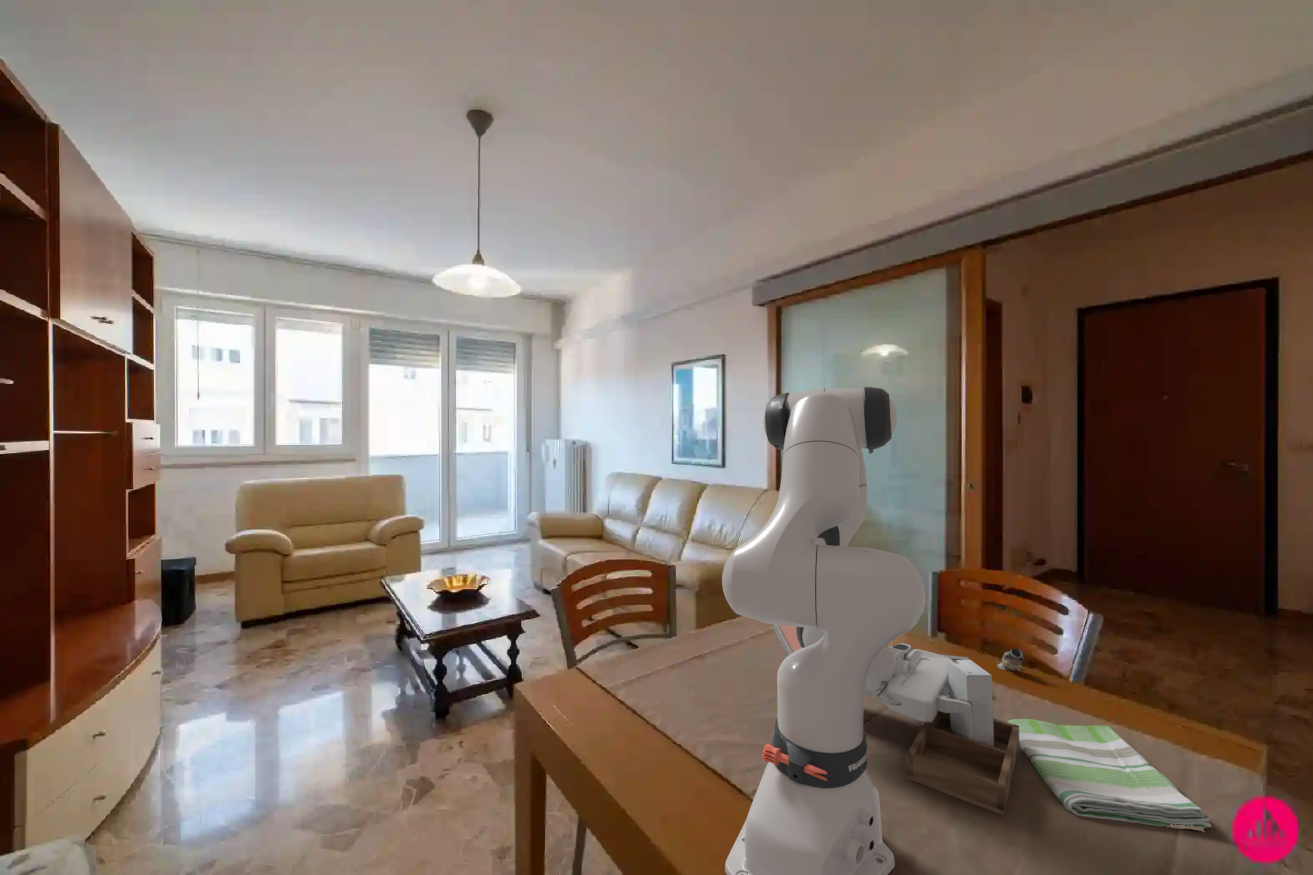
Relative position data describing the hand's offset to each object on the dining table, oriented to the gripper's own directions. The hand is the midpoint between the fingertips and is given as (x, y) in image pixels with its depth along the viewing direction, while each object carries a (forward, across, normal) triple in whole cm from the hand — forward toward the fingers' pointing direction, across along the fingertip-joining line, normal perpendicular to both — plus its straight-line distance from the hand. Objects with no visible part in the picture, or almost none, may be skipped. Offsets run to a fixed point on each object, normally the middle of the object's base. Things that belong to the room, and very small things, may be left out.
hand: (976, 698), depth 89 cm
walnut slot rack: (-1, -5, +9) cm, 10 cm away
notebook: (-41, +28, +10) cm, 50 cm away
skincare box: (-1, 0, +7) cm, 7 cm away
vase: (+1, +37, +9) cm, 38 cm away
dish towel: (+15, +6, +10) cm, 19 cm away
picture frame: (-14, +25, +10) cm, 30 cm away
